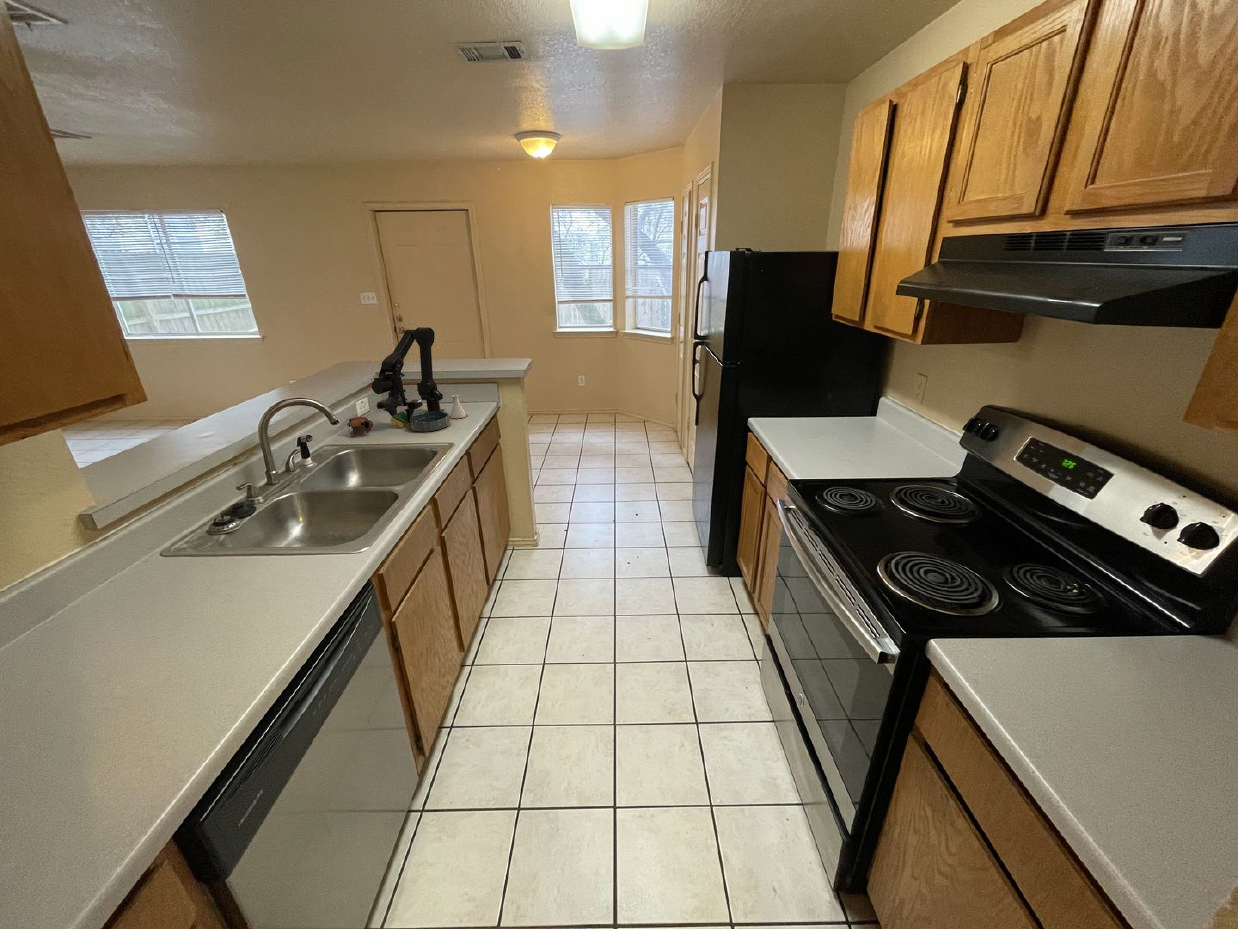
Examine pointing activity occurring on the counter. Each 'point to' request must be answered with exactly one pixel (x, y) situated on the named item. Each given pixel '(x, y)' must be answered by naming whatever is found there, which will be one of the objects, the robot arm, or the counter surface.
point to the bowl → (430, 421)
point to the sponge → (400, 419)
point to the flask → (457, 408)
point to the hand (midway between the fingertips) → (403, 423)
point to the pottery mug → (360, 426)
